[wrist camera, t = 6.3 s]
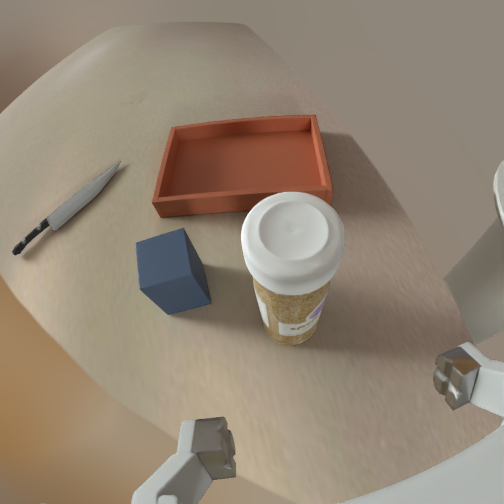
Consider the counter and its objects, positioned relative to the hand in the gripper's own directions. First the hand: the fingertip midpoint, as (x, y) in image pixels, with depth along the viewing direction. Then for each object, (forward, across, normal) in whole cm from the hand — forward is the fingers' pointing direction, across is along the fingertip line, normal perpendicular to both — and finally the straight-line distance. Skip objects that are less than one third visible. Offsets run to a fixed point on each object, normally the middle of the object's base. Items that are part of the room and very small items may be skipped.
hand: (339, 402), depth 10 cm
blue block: (+18, +8, +1) cm, 20 cm away
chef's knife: (+27, +23, -8) cm, 36 cm away
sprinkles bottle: (+14, 0, +4) cm, 15 cm away
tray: (+27, +1, -8) cm, 28 cm away
